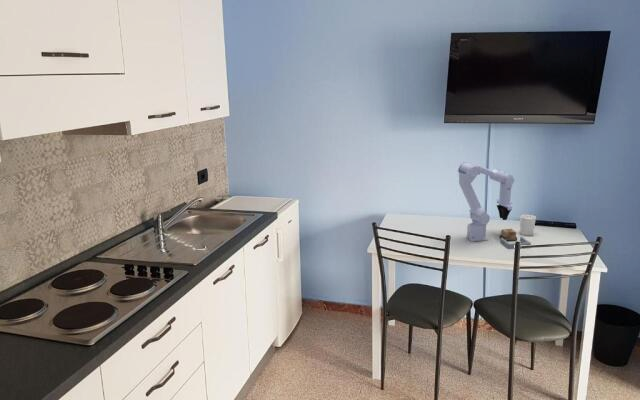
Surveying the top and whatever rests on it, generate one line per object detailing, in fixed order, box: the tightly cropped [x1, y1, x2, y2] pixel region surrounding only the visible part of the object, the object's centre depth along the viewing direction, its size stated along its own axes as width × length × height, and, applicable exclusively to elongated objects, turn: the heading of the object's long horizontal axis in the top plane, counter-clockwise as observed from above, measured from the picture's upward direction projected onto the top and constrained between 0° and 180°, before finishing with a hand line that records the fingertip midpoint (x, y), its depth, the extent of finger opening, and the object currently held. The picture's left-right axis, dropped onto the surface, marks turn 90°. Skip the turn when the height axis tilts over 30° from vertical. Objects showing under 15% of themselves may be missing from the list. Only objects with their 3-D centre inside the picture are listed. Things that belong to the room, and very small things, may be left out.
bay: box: [499, 236, 532, 250], centre depth 260 cm, size 12×10×2 cm
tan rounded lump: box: [498, 228, 518, 241], centre depth 268 cm, size 8×5×5 cm, turn 95°
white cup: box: [519, 214, 537, 236], centre depth 275 cm, size 8×8×10 cm
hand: (503, 218), depth 273 cm, fingers open, 3 cm apart
